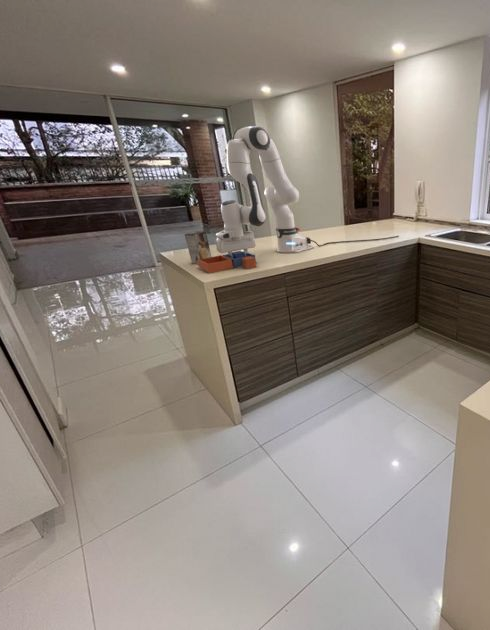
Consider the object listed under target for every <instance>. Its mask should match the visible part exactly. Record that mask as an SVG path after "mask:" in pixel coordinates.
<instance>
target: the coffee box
mask: <svg viewBox="0 0 490 630" xmlns="http://www.w3.org/2000/svg"><path fill="white" fill-rule="evenodd" d="M184 237H185V242H186V245H187V250H188V254H189V258H190V261H191V263H192V264H196V265H197V264H198V259H203V258H209V257H212V253H211V249H210V244H209V240H208V235H207V232H206V231H202V230H201V231H199V230H198V231H197V230H196V231H192V232H188V233H184ZM198 265H199V264H198Z"/></svg>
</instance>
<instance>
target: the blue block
mask: <svg viewBox="0 0 490 630" xmlns="http://www.w3.org/2000/svg"><path fill="white" fill-rule="evenodd" d="M242 251H243V250H237V251H232V255H233V256H235V259H236V258H241V257H245V253H244V252H242Z"/></svg>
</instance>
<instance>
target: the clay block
mask: <svg viewBox="0 0 490 630" xmlns="http://www.w3.org/2000/svg"><path fill="white" fill-rule="evenodd" d="M255 258H256V257H255ZM255 258H254V257H251V256H249V257H244V258H242V264H243V266H242V267H243V268H245V269H246V270H248V269H254V268H257V261H256V262H255Z"/></svg>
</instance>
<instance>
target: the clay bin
mask: <svg viewBox="0 0 490 630" xmlns="http://www.w3.org/2000/svg"><path fill="white" fill-rule="evenodd" d="M198 268H199V269H200V270H202V271H204V272H207V273H208V274H211V273H218V272H221V271H226V270H227V271H228V270H232V269H234V267H233V264H232V260H231V259H229V258H226V257H224V256H222V255H216V256H211V257H209V258H203V259H198Z"/></svg>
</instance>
